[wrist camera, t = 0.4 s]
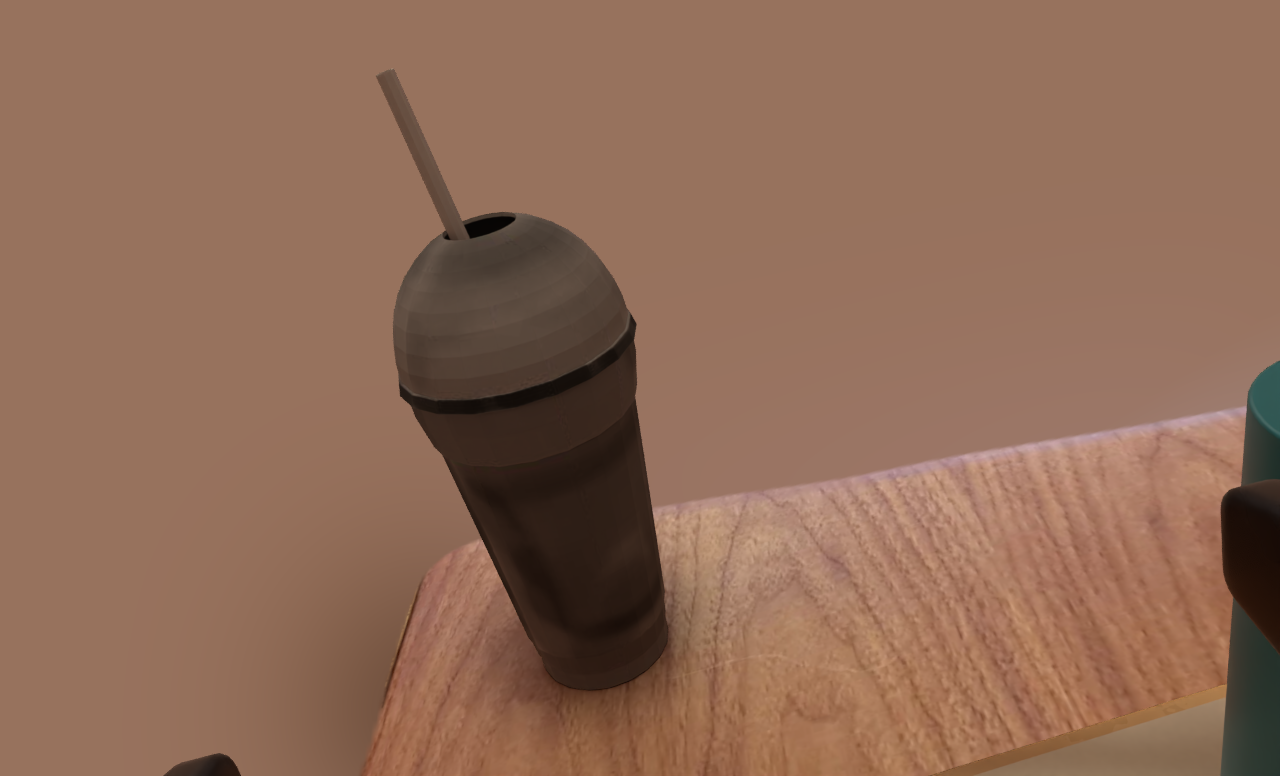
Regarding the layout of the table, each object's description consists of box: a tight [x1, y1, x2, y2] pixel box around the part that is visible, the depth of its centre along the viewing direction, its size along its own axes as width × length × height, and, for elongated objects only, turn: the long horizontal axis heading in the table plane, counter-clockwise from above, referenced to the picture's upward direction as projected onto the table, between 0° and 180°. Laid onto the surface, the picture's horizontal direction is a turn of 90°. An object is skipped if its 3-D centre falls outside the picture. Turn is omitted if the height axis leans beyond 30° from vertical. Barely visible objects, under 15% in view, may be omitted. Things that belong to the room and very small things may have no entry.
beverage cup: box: [376, 69, 668, 690], centre depth 30 cm, size 7×7×20 cm
